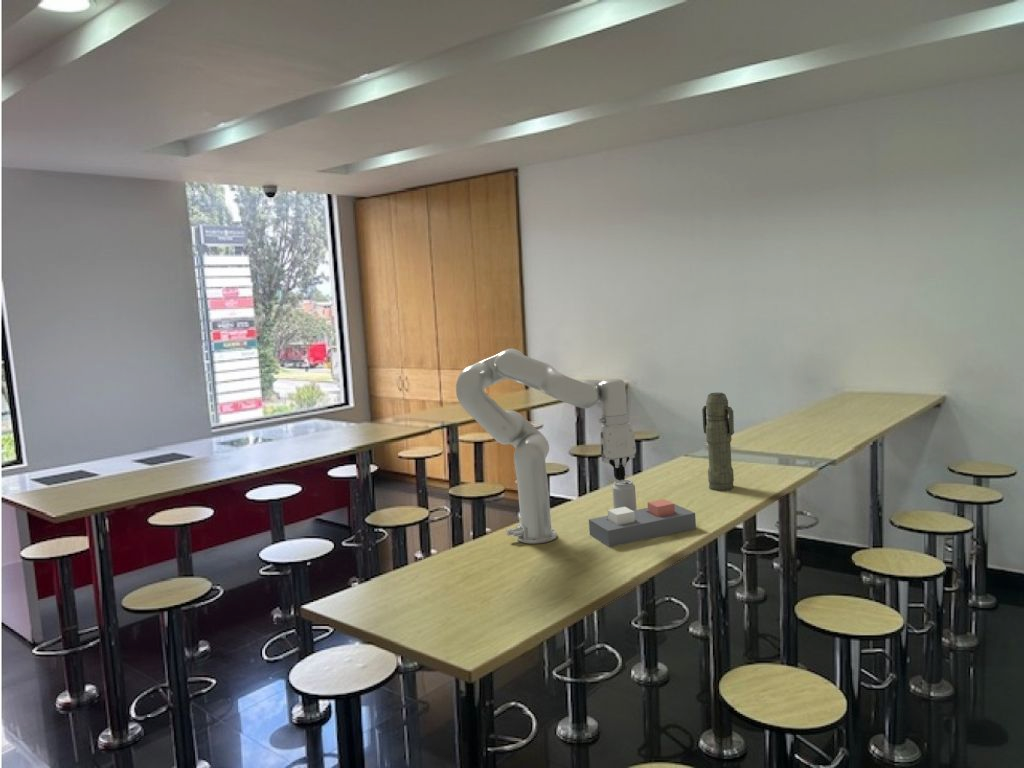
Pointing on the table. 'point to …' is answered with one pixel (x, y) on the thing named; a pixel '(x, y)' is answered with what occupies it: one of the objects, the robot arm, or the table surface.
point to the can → (624, 494)
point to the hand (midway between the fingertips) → (620, 479)
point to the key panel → (641, 526)
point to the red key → (661, 508)
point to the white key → (621, 515)
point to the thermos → (719, 441)
